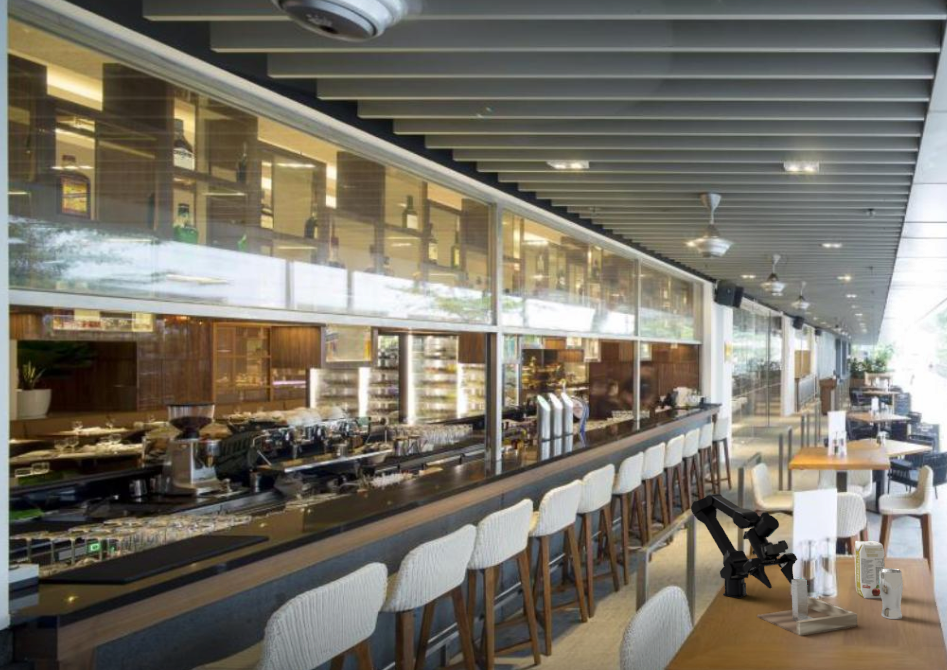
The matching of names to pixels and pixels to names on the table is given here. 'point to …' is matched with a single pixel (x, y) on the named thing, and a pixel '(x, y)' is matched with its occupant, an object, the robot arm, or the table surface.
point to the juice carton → (868, 568)
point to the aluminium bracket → (799, 600)
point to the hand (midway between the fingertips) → (782, 586)
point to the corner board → (823, 614)
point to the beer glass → (891, 592)
